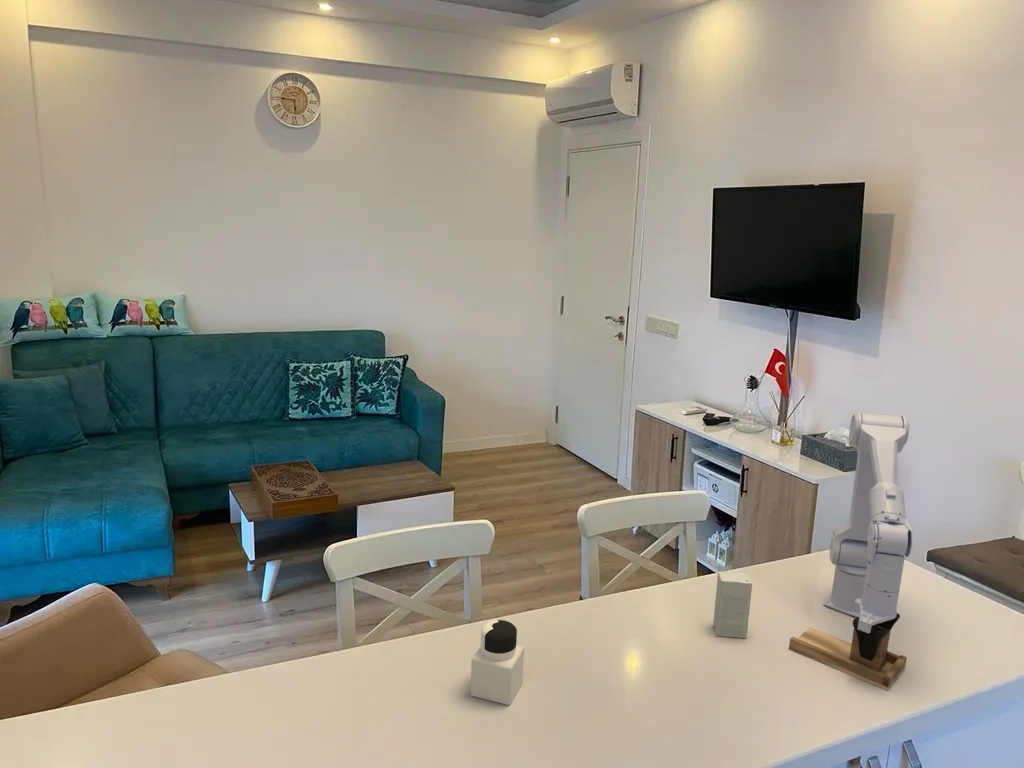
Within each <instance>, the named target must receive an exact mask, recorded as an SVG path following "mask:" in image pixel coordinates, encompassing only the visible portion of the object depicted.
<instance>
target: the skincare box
mask: <svg viewBox="0 0 1024 768" xmlns="http://www.w3.org/2000/svg"><path fill="white" fill-rule="evenodd" d="M715 589H716V591H715V601H714V613H713V623H712V624H713V625H712V626H713V629H714V633H715V636H716V637H724V638H725V637H726V638H739V639H747V636H748V627H749V626H748V625H749V618H750V609H751V608H750V607H751V599H752V598H751V597H752V589H753V582H752V580H751V578H750V576H749V574H748V573H741V572H739V573H737V572H728V571H727V572H726V571H725V572H724V571H718V572H717V580H716V588H715Z"/></svg>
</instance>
